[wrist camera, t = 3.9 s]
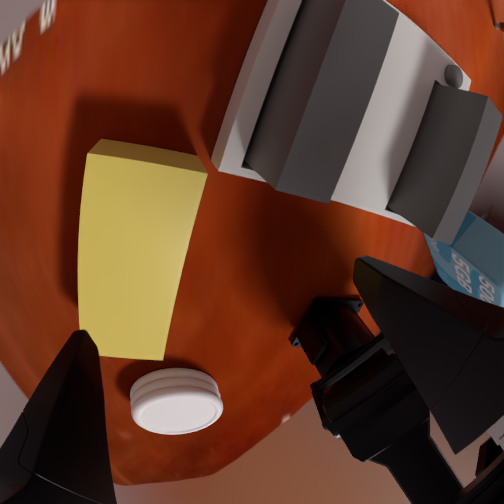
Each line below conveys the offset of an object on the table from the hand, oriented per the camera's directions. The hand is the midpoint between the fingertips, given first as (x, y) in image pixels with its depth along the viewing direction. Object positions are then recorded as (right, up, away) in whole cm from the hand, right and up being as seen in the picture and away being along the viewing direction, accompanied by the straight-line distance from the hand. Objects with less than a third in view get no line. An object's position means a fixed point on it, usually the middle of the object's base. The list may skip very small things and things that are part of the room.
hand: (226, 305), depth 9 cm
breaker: (+14, +10, +11) cm, 21 cm away
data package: (+23, +3, +21) cm, 32 cm away
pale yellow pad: (-8, +2, +11) cm, 13 cm away
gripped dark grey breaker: (+3, +12, +7) cm, 14 cm away
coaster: (-8, -14, +21) cm, 27 cm away
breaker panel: (+9, +13, +10) cm, 18 cm away
